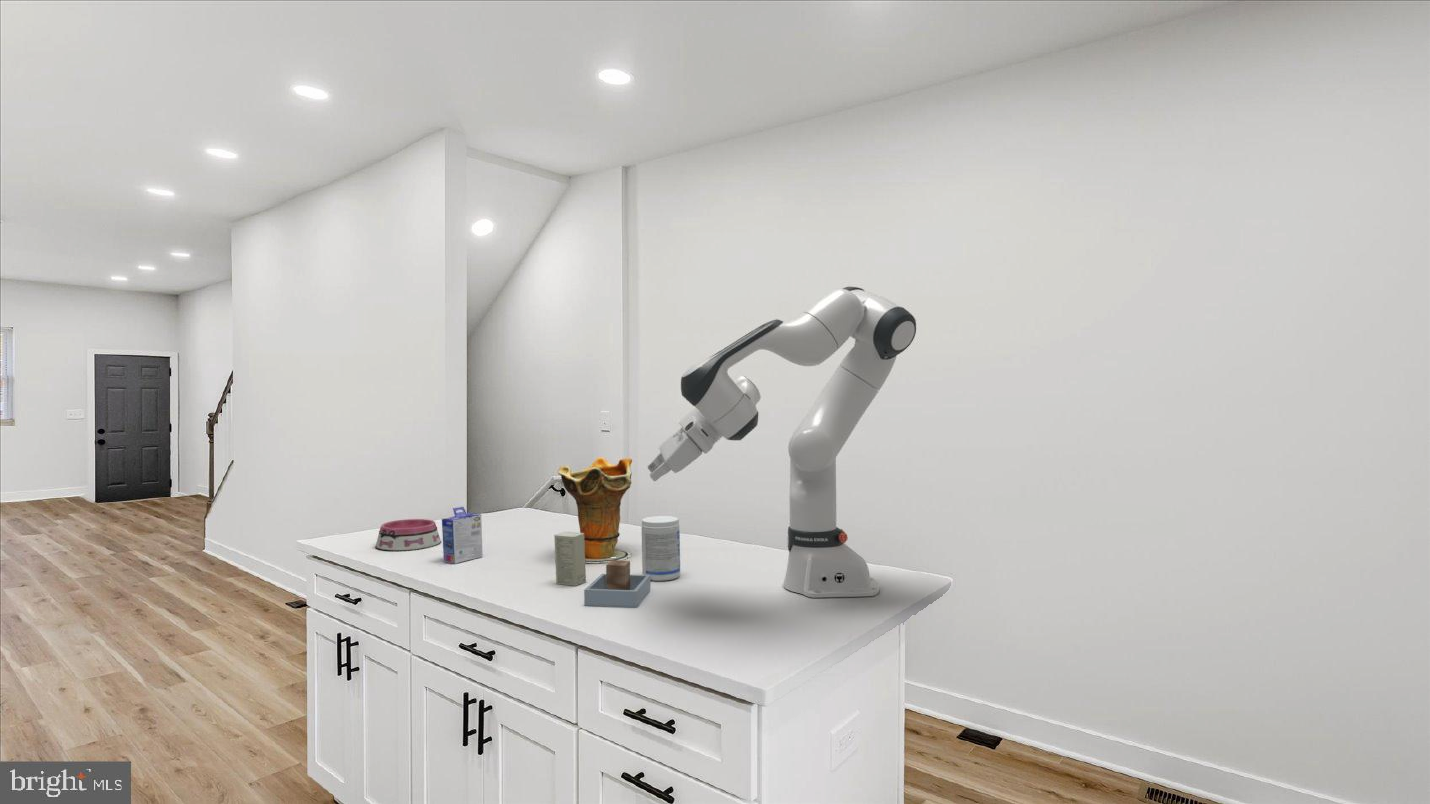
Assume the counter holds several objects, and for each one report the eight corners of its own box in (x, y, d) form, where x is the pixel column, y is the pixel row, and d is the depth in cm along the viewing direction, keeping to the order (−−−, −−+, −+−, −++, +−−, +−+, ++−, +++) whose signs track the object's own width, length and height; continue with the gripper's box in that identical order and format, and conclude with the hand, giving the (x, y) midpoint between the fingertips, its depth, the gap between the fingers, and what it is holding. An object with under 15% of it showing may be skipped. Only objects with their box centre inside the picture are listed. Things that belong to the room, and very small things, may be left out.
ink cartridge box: (470, 554, 211) (470, 504, 211) (483, 557, 208) (483, 506, 208) (441, 562, 203) (440, 509, 202) (454, 564, 200) (453, 511, 199)
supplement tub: (687, 578, 184) (686, 519, 184) (653, 584, 179) (653, 523, 178) (668, 570, 192) (667, 513, 192) (635, 575, 187) (634, 517, 186)
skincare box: (586, 582, 181) (585, 533, 181) (575, 586, 177) (575, 536, 177) (565, 579, 184) (564, 531, 183) (554, 583, 180) (553, 534, 179)
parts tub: (650, 589, 174) (650, 575, 174) (636, 607, 160) (636, 591, 160) (602, 588, 176) (601, 573, 175) (584, 605, 162) (584, 589, 162)
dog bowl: (454, 541, 229) (453, 520, 229) (406, 554, 213) (406, 531, 212) (410, 537, 237) (410, 515, 237) (361, 549, 220) (361, 526, 220)
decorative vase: (543, 562, 199) (545, 459, 200) (583, 548, 221) (584, 455, 222) (614, 568, 193) (615, 461, 194) (647, 552, 215) (648, 457, 216)
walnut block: (630, 595, 170) (630, 560, 170) (625, 600, 165) (625, 565, 165) (611, 594, 170) (611, 560, 170) (606, 600, 166) (606, 564, 166)
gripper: (683, 416, 173) (639, 455, 172) (693, 428, 153) (643, 472, 152) (700, 436, 174) (657, 475, 173) (713, 450, 154) (663, 494, 153)
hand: (650, 474), depth 163 cm, fingers open, 8 cm apart
